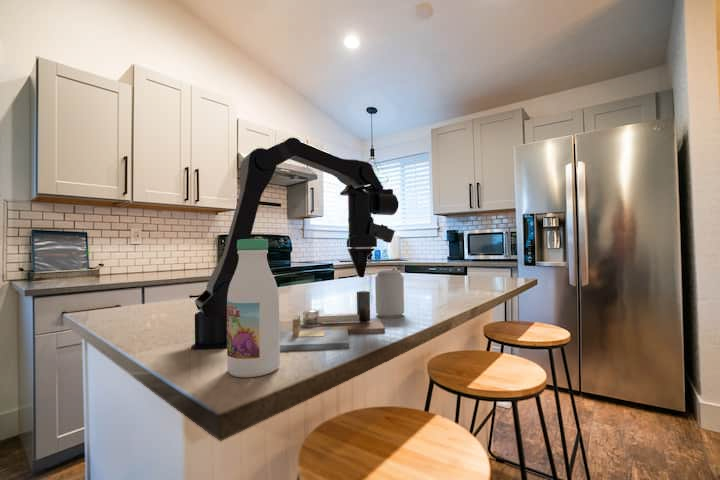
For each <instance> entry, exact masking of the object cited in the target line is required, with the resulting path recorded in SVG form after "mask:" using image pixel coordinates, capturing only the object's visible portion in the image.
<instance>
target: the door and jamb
mask: <svg viewBox="0 0 720 480" xmlns="http://www.w3.org/2000/svg"><path fill="white" fill-rule="evenodd" d="M279 324H280V352H282V351H284V352H285V351H287V352H288V351H308V350H309V351H310V350H311V351H312V350H313V351H314V350H337V349H350V338H349V335H362V334H363V335H365V334H367V335H368V334H386V328H385V326H384V324H383V323H382V321H381V320H380V318H370V321H368V322H329V323H315V324H305V323H303V320H301V315H298V314H297V315H294V316H293V318H292V320H291V321H290V320H289V321H287V320H286V321H279Z"/></svg>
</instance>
